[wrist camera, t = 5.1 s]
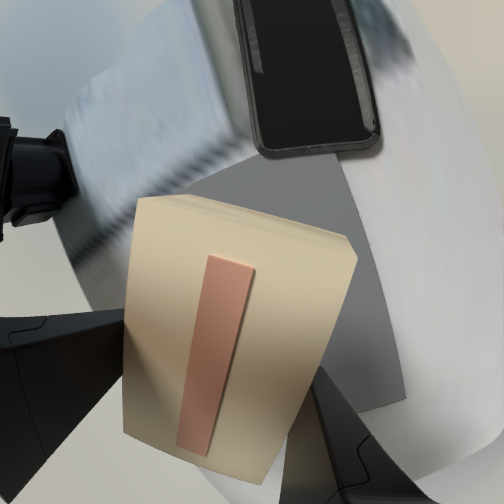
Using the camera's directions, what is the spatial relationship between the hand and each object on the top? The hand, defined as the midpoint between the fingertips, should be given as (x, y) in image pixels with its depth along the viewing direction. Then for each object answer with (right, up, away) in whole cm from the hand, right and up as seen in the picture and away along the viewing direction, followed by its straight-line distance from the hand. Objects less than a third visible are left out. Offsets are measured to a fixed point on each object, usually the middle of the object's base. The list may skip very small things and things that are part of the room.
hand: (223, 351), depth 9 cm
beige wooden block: (0, 0, +1) cm, 1 cm away
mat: (+3, -1, +11) cm, 12 cm away
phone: (+4, +16, +8) cm, 19 cm away
